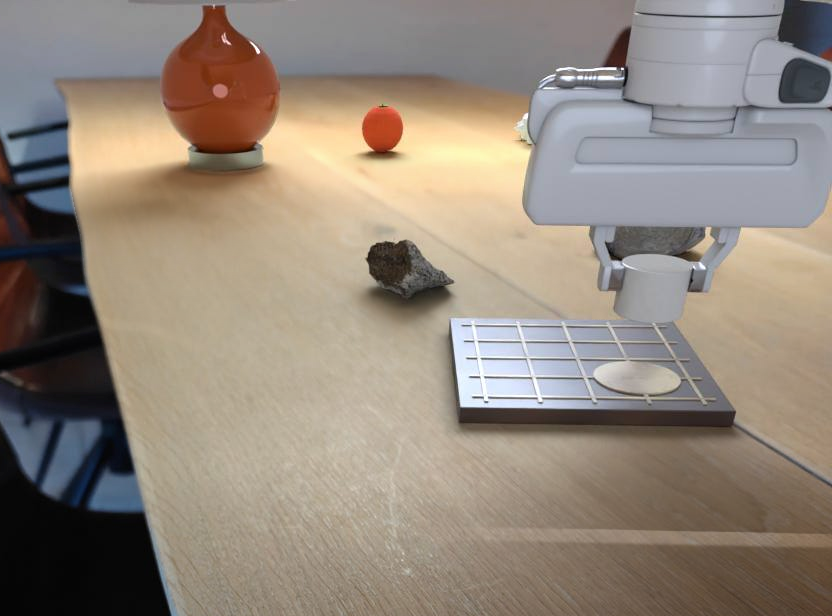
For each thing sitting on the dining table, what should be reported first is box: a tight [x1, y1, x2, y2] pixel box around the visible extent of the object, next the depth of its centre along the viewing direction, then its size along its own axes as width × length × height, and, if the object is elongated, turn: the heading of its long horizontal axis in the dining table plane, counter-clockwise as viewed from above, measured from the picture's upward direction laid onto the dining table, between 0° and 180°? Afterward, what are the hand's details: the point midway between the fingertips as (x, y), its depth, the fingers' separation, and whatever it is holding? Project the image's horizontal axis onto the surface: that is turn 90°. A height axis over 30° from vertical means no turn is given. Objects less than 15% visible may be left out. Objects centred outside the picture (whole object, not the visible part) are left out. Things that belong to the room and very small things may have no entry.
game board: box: [448, 317, 737, 427], centre depth 74 cm, size 20×20×1 cm
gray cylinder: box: [612, 254, 693, 323], centre depth 66 cm, size 5×5×4 cm
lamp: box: [127, 0, 296, 171], centre depth 135 cm, size 25×25×39 cm
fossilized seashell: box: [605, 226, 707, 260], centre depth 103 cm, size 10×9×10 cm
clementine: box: [361, 103, 404, 153], centre depth 152 cm, size 8×7×7 cm
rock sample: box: [364, 237, 455, 299], centre depth 91 cm, size 10×8×9 cm
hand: (652, 290), depth 67 cm, fingers closed on gray cylinder, 5 cm apart
